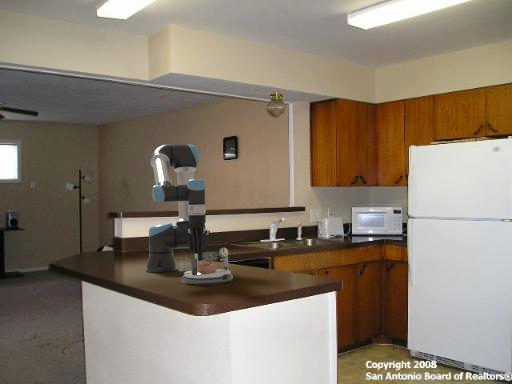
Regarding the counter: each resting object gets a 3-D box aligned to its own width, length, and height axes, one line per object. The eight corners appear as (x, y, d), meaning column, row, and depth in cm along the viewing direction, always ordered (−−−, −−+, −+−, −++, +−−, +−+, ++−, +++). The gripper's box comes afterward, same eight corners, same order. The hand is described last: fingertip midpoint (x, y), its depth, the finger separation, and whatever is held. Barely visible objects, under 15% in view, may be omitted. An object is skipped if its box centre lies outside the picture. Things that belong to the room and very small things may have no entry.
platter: (174, 277, 219) (173, 258, 219) (205, 270, 235) (205, 253, 235) (213, 281, 206) (212, 261, 206) (243, 274, 222) (242, 255, 222)
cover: (193, 272, 221) (193, 262, 221) (206, 270, 227) (205, 260, 227) (207, 274, 216) (207, 264, 216) (219, 271, 222) (219, 261, 222)
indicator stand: (216, 277, 230) (216, 248, 230) (225, 275, 235) (224, 246, 235) (225, 278, 227) (224, 248, 227) (234, 276, 232) (233, 247, 232)
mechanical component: (203, 272, 248) (203, 251, 248) (218, 273, 241) (218, 252, 241) (199, 272, 245) (198, 252, 245) (214, 274, 239) (213, 253, 239)
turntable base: (171, 282, 219) (171, 278, 219) (205, 275, 237) (205, 271, 237) (210, 287, 206) (209, 282, 206) (243, 279, 224) (242, 274, 224)
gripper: (180, 214, 225) (181, 268, 225) (202, 214, 217) (203, 270, 217) (192, 214, 231) (193, 266, 231) (213, 214, 224) (215, 268, 223)
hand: (198, 268), depth 224 cm, fingers closed
